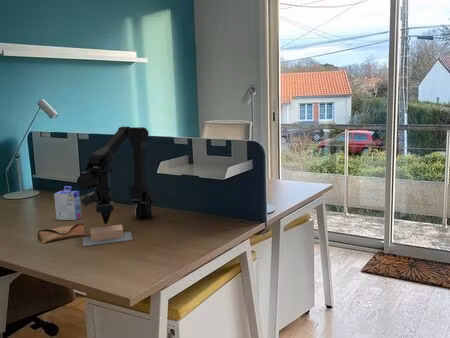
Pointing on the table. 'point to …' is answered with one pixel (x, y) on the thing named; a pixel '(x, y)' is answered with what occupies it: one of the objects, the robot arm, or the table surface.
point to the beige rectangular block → (106, 232)
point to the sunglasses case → (61, 233)
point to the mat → (107, 240)
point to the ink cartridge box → (67, 204)
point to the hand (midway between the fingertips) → (105, 223)
